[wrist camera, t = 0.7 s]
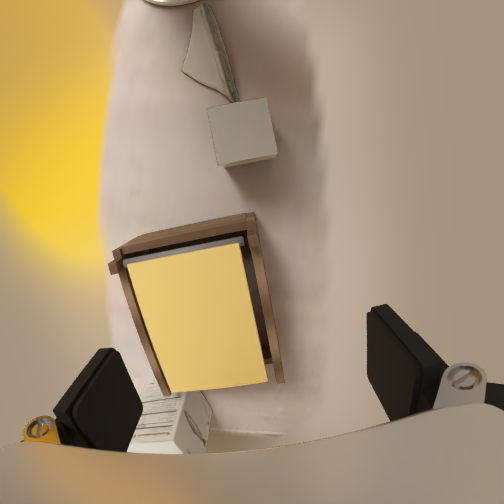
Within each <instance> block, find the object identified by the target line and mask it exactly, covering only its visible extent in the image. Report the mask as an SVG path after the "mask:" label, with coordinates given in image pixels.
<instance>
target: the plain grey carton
mask: <svg viewBox="0 0 504 504" xmlns="http://www.w3.org/2000/svg"><path fill="white" fill-rule="evenodd" d="M207 111H208V117H209V122H210V127H211V132H212V138H213V143H214V148H215V153H216V158H217V163H218V165H219V166H221V167H224V168H227V167H232V166H237V165H242V164H247V163H253V162H258V161H264V160H269V159H273V158H274V157H275V156H276V155H277V154H278V151H277V146H276V141H275V136H274V131H273V126H272V121H271V117H270V112H269V107H268V102H267V98H266V97H264V98H258V99H252V100H246V101H241V102H235V103H230V104H225V105H220V106H216V107H211V108H207Z"/></svg>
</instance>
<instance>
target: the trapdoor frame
mask: <svg viewBox="0 0 504 504" xmlns="http://www.w3.org/2000/svg"><path fill="white" fill-rule="evenodd" d="M242 230H247V238H248V243H249V248H250V249H251V254H252V259H253V264H254V269H255V274H256V280H257V285H258V290H259V295H260V300H261V305H262V310H263V315H264V320H265V325H266V330H267V335H268V340H269V345H263V346H261V348H262V353H263V358H264V362H265V364H271V363H273V366H274V371H275V376H276V381H277V384H280V383H285V380H284V374H283V368H282V362H281V356H280V350H279V344H278V339H277V333H276V328H275V322H274V317H273V311H272V306H271V300H270V295H269V290H268V284H267V279H266V274H265V268H264V263H263V258H262V252H261V247H260V242H259V236H258V231H257V226H256V221H255V215H254V213H248V214H246V213H243V214H238V215H233V216H228V217H223V218H218V219H213V220H208V221H203V222H198V223H194V224H189V225H184V226H179V227H175V228H170V229H165V230H161V231H156V232H152V233H147V234H143V235H142V236H138V237H136V238H134V239H133V240H131V241H129V242H127V243H126V244H124V245H122V246H120V247H119V248H117V249H115V250H113V251H112V252H113V256H114V259H115V260H113V261H112V262H110V263H109V264H108V266H109V270H110V273H111V275H112V274H117V273H119V277H120V280H121V283H122V287H123V290H124V293H125V296H126V299H127V302H128V305H129V308H130V311H131V314H132V317H133V320H134V323H135V326H136V329H137V331H138V334H139V337H140V340H141V342H142V345H143V348H144V350H145V353H146V355H147V358H148V360H149V363H150V365H151V368H152V370H153V373H154V375H155V378H156V380H157V382H158V385H159V387H160V389H161V391H162V394H163V396H164V397H167V396H171V393H172V392H171V390H170V388H169V385H168V383H167V380H166V378H165V376H164V373H163V371H162V368H161V365H160V363H159V360H158V358H157V355H156V352H155V350H154V347H153V344H152V342H151V339H150V336H149V333H148V330H147V328H146V325H145V322H144V319H143V316H142V313H141V310H140V307H139V304H138V300H137V297H136V294H135V291H134V288H133V284H132V281H131V278H130V274H129V271H128V268H124V266H123V260H124V259H129V258H134V257H139V256H144V255H149V253H148V249H152V248H157V247H162V246H166V245H171V244H176V243H181V242H186V241H191V240H196V239H201V238H206V237H211V236H216V235H221V234H227V233H232V232H237V231H242Z"/></svg>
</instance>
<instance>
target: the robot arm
mask: <svg viewBox="0 0 504 504" xmlns="http://www.w3.org/2000/svg"><path fill="white" fill-rule="evenodd" d="M146 1H148V2H150V3H153V4H157V5H162V6H176V5H184V4H189V3H193V2H196V1H199V0H146ZM367 375H368V379H369V381H370V383H371V385H372V387H373V389H374V391H375V393H376V395H377V396H378V398H379V400H380V402H381V404H382V406H383V408H384V410H385V412H386V414H387V415H388V417H389V419H390V422H387V423H383V424H380V425H376V426H372V427H369V428H366V429H362V430H358V431H354V432H350V433H346V434H342V435H338V436H333V437H329V438H324V439H319V440H314V441H309V442H303V443H298V444H292V445H285V446H279V447H272V448H263V449H255V450H245V451H234V452H221V453H198V454H154V453H133V452H127V450H128V447H129V445H130V442H131V440H132V437H133V435H134V432H135V430H136V427H137V425H138V422H139V420H140V417H141V415H142V412H143V404H142V401H141V399H140V397H139V395H138V393H137V391H136V389H135V387H134V385H133V382H132V380H131V378H130V376H129V373H128V371H127V369H126V367H125V364H124V362H123V360H122V357H121V355H120V353H119V352H118V351H116V350H115V349H114V348H103V349H102V348H101V349H99V350H98V351H97V352H96V354H95V355H94V356H93V357H92V359H91V360H90V361H89V363H88V364H87V365H86V366H85V368H84V369H83V370H82V372H81V373H80V374H79V376H78V377H77V378H76V380H75V381H74V382H73V383H72V385H71V386H70V388H69V389H68V390H67V392H66V393H65V394H64V396H63V397H62V398H61V400H60V401H59V402H58V404H57V405H56V406H55V408H54V409H53V412H54V413H55V415H56V417H57V418H56V419H55V420H54V419H53V418H52V417H50V416H39V417H36V418H34V419H32V420H31V421H30V422H29V423H28V424H27V425H26V426H25V428H24V430H23V438H24V440H23V441H21V442H16V443H12V444H8V445H5V446H3V447H1V448H0V504H504V384H495V383H488V382H486V381H487V377H486V373H485V371H484V370H483V369H482V368H481V367H480V366H478V365H475V364H472V363H457V364H454V365H452V366H450V367H449V366H448V365H447V364H446V363H445V362H444V361H443V360H442V359H441V358H440V356H438V354H437V353H436V352H435V351H434V350H433V349H432V348H431V347H430V346H429V345H428V344H427V343H426V342H425V341H424V340H423V339H422V338H421V336H420V335H419V334H418V333H416V332H414V331H413V330H412V329H411V328H410V327H409V326H408V325H407V324H406V323H405V322H404V321H403V320H402V319H401V318H400V317H399V316H398V315H397V314H396V313H395V312H394V311H393V310H392V308H390V307H389V305H387V304H384V305H380V306H376V307H372V308H371V312H368V313H367Z"/></svg>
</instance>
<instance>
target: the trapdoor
mask: <svg viewBox="0 0 504 504" xmlns="http://www.w3.org/2000/svg"><path fill="white" fill-rule="evenodd" d="M240 246H245V244H244V239H243V236H240V237H235V238H230V239H224V240H219V241H214V242H209V243H204V244H199V245H194V246H189V247H183V248H178V249H173V250H168V251H163V252H158V253H154V254H149V255H144V256H139V257H134V258H129V259H124V260H123V266H124V268H128V271H129V274H130V278H131V281H132V284H133V288H134V291H135V294H136V297H137V300H138V304H139V307H140V310H141V313H142V316H143V319H144V322H145V325H146V328H147V330H148V333H149V336H150V339H151V342H152V344H153V347H154V350H155V352H156V355H157V358H158V360H159V363H160V365H161V368H162V371H163V373H164V376H165V378H166V380H167V383H168V385H169V388H170V390H171V392H172V393H173V392H187V391H198V390H209V389H218V388H227V387H235V386H242V385H249V384H256V383H262V382H268V377H267V372H266V367H265V362H264V358H263V353H262V348H261V344H260V339H259V334H258V329H257V325H256V320H255V315H254V310H253V306H252V301H251V296H250V291H249V286H248V282H247V277H246V272H245V267H244V262H243V257H242V252H241V248H240Z"/></svg>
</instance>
